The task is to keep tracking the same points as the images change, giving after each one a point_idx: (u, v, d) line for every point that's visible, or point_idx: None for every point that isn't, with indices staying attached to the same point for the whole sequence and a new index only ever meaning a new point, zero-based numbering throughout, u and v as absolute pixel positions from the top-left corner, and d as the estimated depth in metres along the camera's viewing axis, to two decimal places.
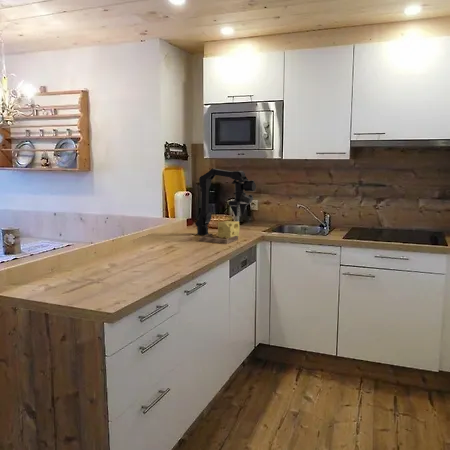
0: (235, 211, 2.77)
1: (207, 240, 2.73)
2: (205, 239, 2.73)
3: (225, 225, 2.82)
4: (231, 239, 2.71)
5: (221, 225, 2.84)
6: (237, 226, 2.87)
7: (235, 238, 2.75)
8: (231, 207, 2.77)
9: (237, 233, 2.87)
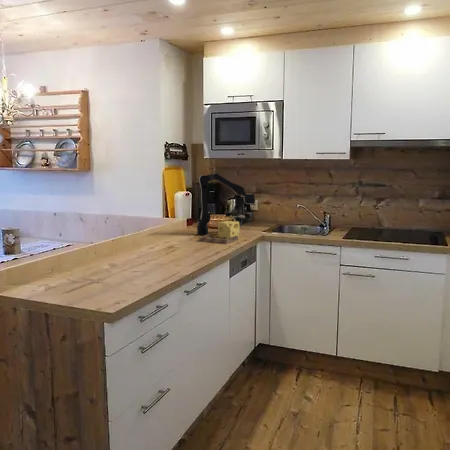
0: None
1: (207, 240, 2.73)
2: (205, 239, 2.73)
3: (225, 225, 2.82)
4: (231, 239, 2.71)
5: (221, 225, 2.84)
6: (237, 226, 2.87)
7: (235, 238, 2.75)
8: None
9: (237, 233, 2.87)
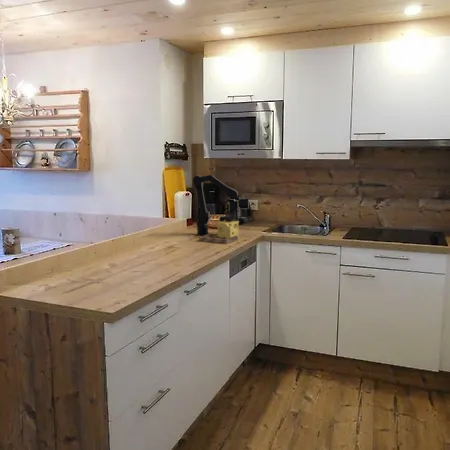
0: None
1: (207, 240, 2.73)
2: (205, 239, 2.73)
3: (225, 225, 2.82)
4: (231, 239, 2.71)
5: (221, 225, 2.84)
6: (236, 226, 2.87)
7: (235, 238, 2.75)
8: None
9: (237, 233, 2.87)
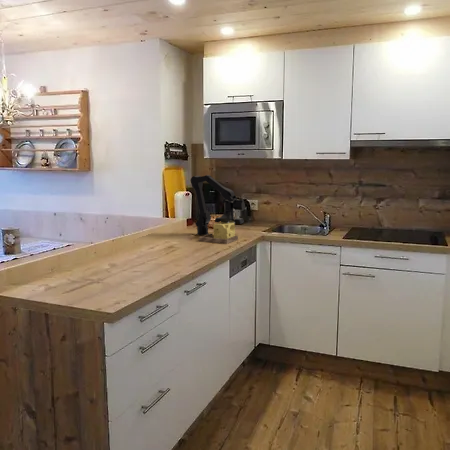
0: None
1: (207, 240, 2.73)
2: (205, 239, 2.73)
3: (221, 226, 2.76)
4: (231, 239, 2.71)
5: (217, 227, 2.78)
6: (233, 227, 2.82)
7: (235, 238, 2.75)
8: None
9: (233, 234, 2.82)
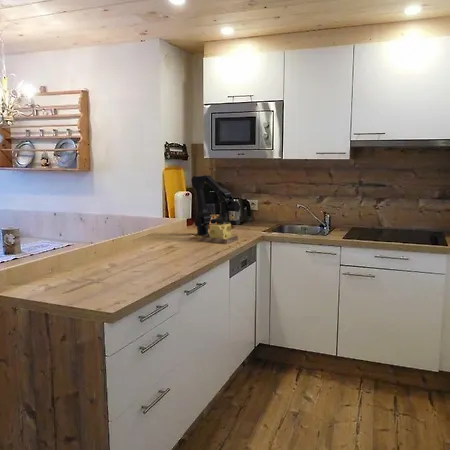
0: None
1: (207, 240, 2.73)
2: (205, 239, 2.73)
3: (217, 228, 2.72)
4: (231, 239, 2.71)
5: (213, 228, 2.73)
6: (229, 229, 2.77)
7: (235, 238, 2.75)
8: None
9: (229, 236, 2.77)
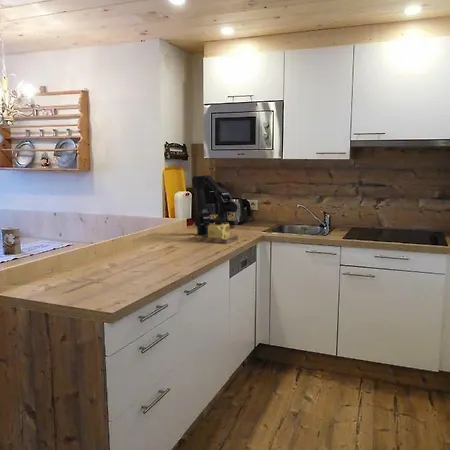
0: None
1: (207, 240, 2.73)
2: (205, 239, 2.73)
3: (216, 228, 2.70)
4: (231, 239, 2.71)
5: (212, 228, 2.72)
6: (228, 229, 2.76)
7: (235, 238, 2.75)
8: None
9: (228, 236, 2.76)
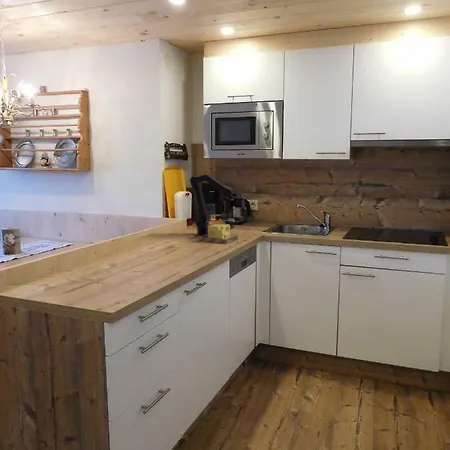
0: None
1: (207, 240, 2.73)
2: (205, 239, 2.73)
3: (216, 228, 2.70)
4: (231, 239, 2.71)
5: (212, 228, 2.72)
6: (228, 229, 2.76)
7: (235, 238, 2.75)
8: None
9: (228, 236, 2.76)
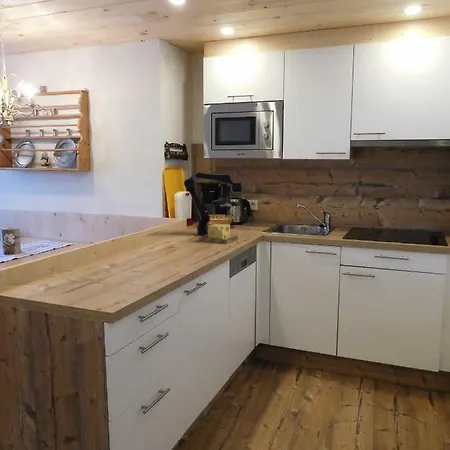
0: None
1: (207, 240, 2.73)
2: (205, 239, 2.73)
3: (216, 228, 2.70)
4: (231, 239, 2.71)
5: (212, 228, 2.72)
6: (228, 229, 2.76)
7: (235, 238, 2.75)
8: None
9: (228, 236, 2.76)
